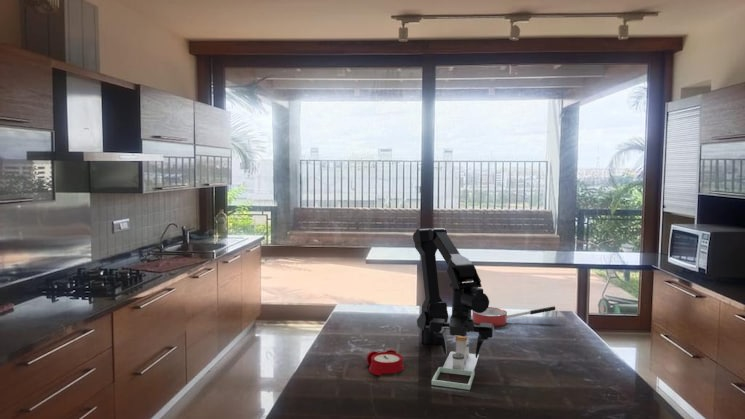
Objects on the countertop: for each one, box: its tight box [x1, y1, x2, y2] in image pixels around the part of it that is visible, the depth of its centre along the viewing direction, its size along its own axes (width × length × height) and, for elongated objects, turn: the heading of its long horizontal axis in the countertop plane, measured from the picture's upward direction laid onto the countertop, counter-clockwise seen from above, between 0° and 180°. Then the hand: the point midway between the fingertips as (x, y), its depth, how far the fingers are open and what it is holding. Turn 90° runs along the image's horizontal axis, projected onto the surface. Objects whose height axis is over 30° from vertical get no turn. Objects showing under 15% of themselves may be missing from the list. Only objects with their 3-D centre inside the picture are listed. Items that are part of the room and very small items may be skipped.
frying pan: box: [471, 305, 556, 328], centre depth 202 cm, size 32×13×6 cm, turn 97°
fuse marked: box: [455, 335, 468, 364], centre depth 155 cm, size 3×3×8 cm
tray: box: [431, 366, 475, 394], centre depth 142 cm, size 10×10×2 cm
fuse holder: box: [442, 341, 480, 371], centre depth 156 cm, size 9×17×5 cm, turn 162°
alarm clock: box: [366, 349, 406, 377], centre depth 153 cm, size 10×6×15 cm
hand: (460, 355), depth 155 cm, fingers open, 9 cm apart
